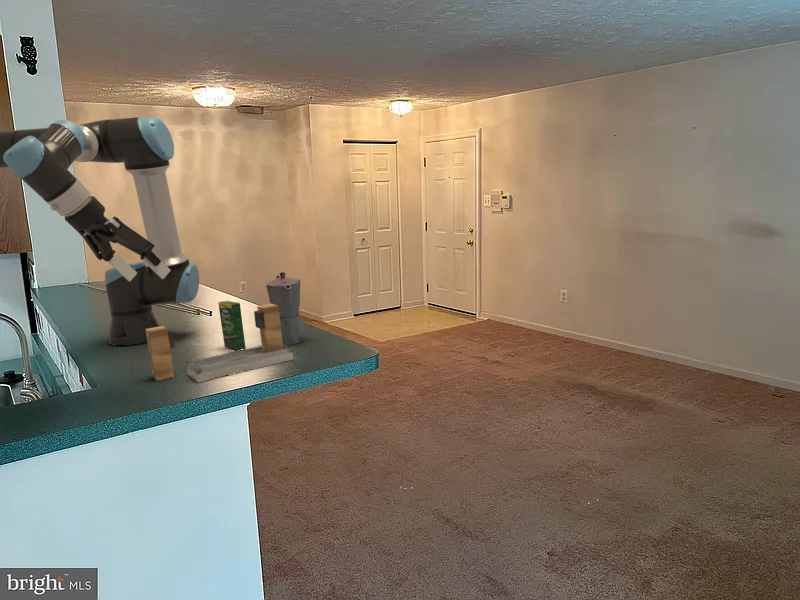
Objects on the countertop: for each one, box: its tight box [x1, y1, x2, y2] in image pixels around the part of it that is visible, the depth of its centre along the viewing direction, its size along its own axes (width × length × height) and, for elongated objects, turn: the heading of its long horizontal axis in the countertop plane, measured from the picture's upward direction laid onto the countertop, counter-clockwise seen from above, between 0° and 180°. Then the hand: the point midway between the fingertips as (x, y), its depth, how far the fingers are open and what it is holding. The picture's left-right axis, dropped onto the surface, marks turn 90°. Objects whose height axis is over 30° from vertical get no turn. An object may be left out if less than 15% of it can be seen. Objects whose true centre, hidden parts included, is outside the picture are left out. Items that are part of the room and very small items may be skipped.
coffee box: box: [217, 300, 247, 351], centre depth 161 cm, size 8×3×13 cm, turn 43°
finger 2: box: [253, 303, 283, 352], centre depth 147 cm, size 4×5×12 cm
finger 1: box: [146, 325, 176, 381], centre depth 140 cm, size 4×5×12 cm
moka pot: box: [265, 271, 306, 346], centre depth 164 cm, size 10×15×20 cm, turn 27°
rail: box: [185, 344, 294, 383], centre depth 144 cm, size 8×24×3 cm, turn 125°
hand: (149, 276), depth 134 cm, fingers open, 13 cm apart
